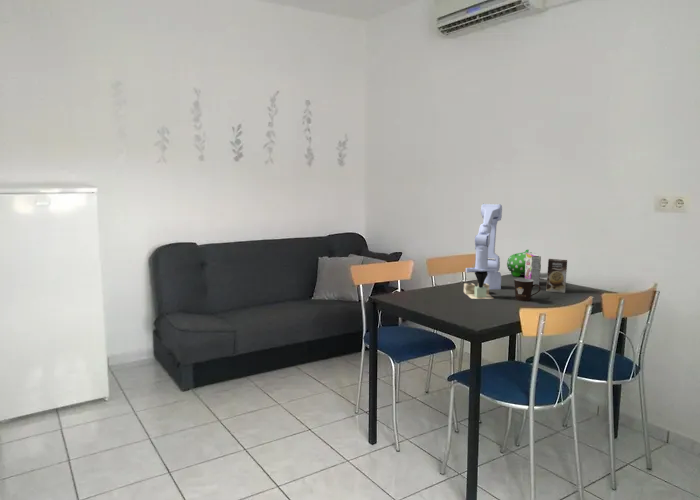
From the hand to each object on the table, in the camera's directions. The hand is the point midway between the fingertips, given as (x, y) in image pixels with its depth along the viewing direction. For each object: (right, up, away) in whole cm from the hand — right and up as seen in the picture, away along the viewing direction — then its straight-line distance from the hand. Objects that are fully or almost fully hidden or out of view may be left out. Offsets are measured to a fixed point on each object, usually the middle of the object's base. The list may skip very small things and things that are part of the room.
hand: (480, 287), depth 253 cm
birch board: (0, -5, +4) cm, 6 cm away
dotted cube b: (-4, -4, +7) cm, 9 cm away
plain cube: (0, -5, +1) cm, 5 cm away
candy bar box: (+36, -1, +33) cm, 49 cm away
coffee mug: (+19, -7, -7) cm, 21 cm away
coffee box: (+43, -3, +16) cm, 46 cm away
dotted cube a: (+3, -4, +8) cm, 9 cm away
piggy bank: (+38, +2, +55) cm, 67 cm away
